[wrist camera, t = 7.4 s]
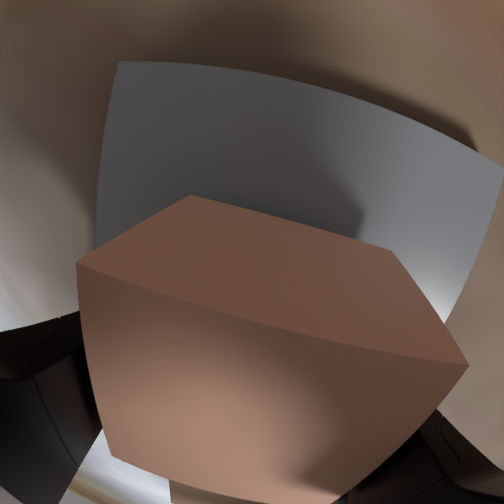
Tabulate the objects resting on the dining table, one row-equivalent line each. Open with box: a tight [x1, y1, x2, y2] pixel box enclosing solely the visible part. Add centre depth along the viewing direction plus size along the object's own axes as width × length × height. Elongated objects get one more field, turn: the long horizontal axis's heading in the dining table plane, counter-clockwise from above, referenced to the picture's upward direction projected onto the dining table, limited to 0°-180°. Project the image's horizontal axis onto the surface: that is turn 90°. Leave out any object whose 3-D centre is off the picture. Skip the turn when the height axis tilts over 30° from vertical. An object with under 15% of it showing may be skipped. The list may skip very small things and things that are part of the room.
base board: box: [95, 61, 504, 323], centre depth 11 cm, size 14×14×2 cm
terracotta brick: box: [76, 195, 469, 504], centre depth 7 cm, size 6×6×5 cm
